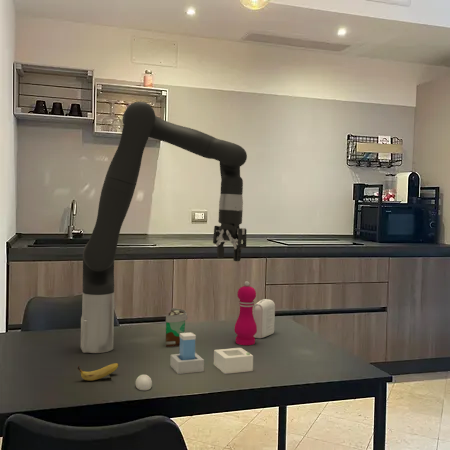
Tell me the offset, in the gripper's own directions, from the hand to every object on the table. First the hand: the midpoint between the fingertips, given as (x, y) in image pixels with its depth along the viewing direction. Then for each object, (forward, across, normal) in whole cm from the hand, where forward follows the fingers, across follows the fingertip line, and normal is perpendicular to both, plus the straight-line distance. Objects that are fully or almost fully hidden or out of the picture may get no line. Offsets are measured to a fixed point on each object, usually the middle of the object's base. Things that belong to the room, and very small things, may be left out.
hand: (228, 259), depth 169 cm
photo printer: (+27, -1, +17) cm, 32 cm away
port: (+27, +24, -15) cm, 39 cm away
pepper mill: (+27, +3, +6) cm, 28 cm away
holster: (+27, +18, -26) cm, 42 cm away
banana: (+28, +11, -48) cm, 56 cm away
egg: (+28, +24, -42) cm, 56 cm away
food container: (+27, -8, -13) cm, 31 cm away
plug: (+26, +18, -26) cm, 41 cm away
